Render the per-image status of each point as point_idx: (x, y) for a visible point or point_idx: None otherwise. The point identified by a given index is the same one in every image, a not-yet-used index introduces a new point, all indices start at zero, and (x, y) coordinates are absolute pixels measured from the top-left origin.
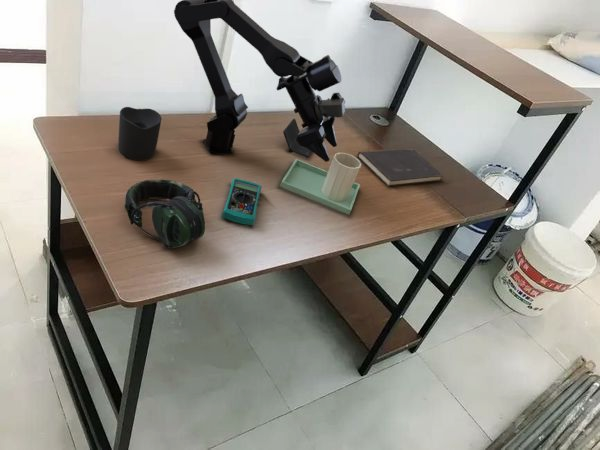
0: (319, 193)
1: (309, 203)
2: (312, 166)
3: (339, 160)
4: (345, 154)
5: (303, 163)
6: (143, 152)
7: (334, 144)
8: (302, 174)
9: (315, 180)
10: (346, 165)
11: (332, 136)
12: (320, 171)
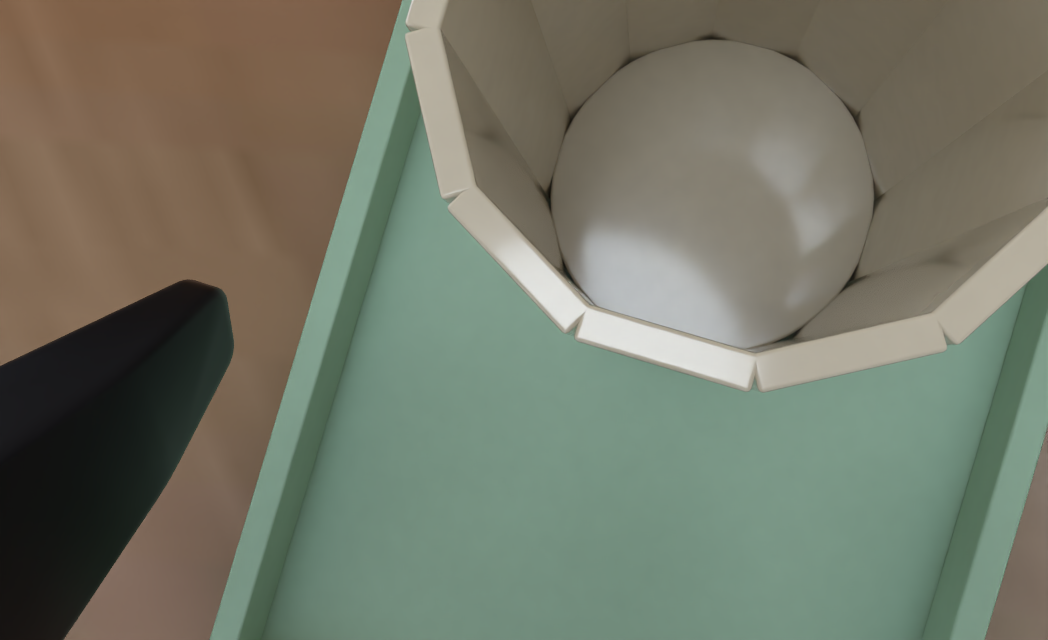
0: (798, 405)
1: (1035, 540)
2: (280, 500)
3: (502, 187)
4: (452, 62)
5: (248, 623)
6: None
7: (196, 353)
8: (440, 613)
9: (509, 442)
10: (512, 34)
11: (31, 490)
12: (324, 379)
